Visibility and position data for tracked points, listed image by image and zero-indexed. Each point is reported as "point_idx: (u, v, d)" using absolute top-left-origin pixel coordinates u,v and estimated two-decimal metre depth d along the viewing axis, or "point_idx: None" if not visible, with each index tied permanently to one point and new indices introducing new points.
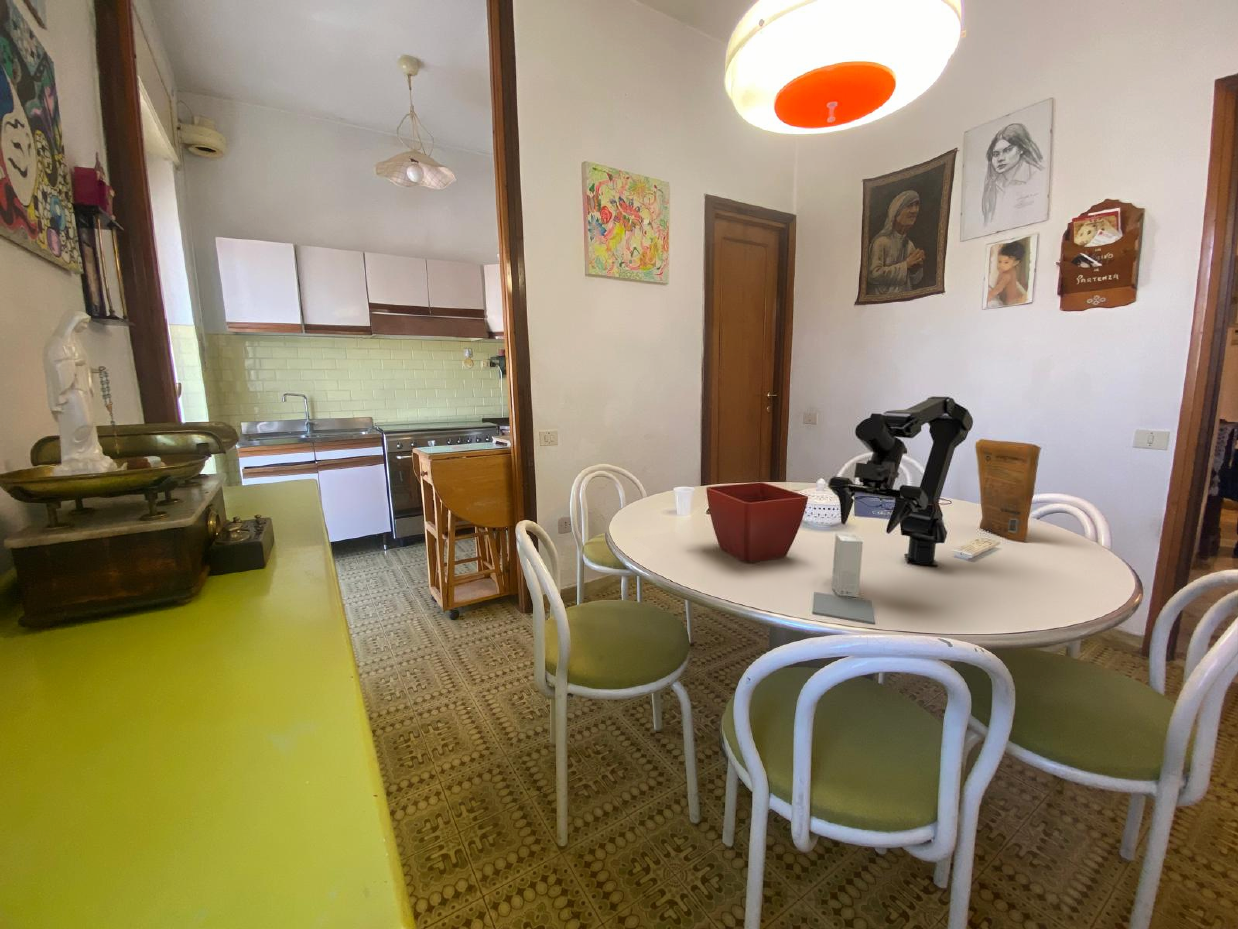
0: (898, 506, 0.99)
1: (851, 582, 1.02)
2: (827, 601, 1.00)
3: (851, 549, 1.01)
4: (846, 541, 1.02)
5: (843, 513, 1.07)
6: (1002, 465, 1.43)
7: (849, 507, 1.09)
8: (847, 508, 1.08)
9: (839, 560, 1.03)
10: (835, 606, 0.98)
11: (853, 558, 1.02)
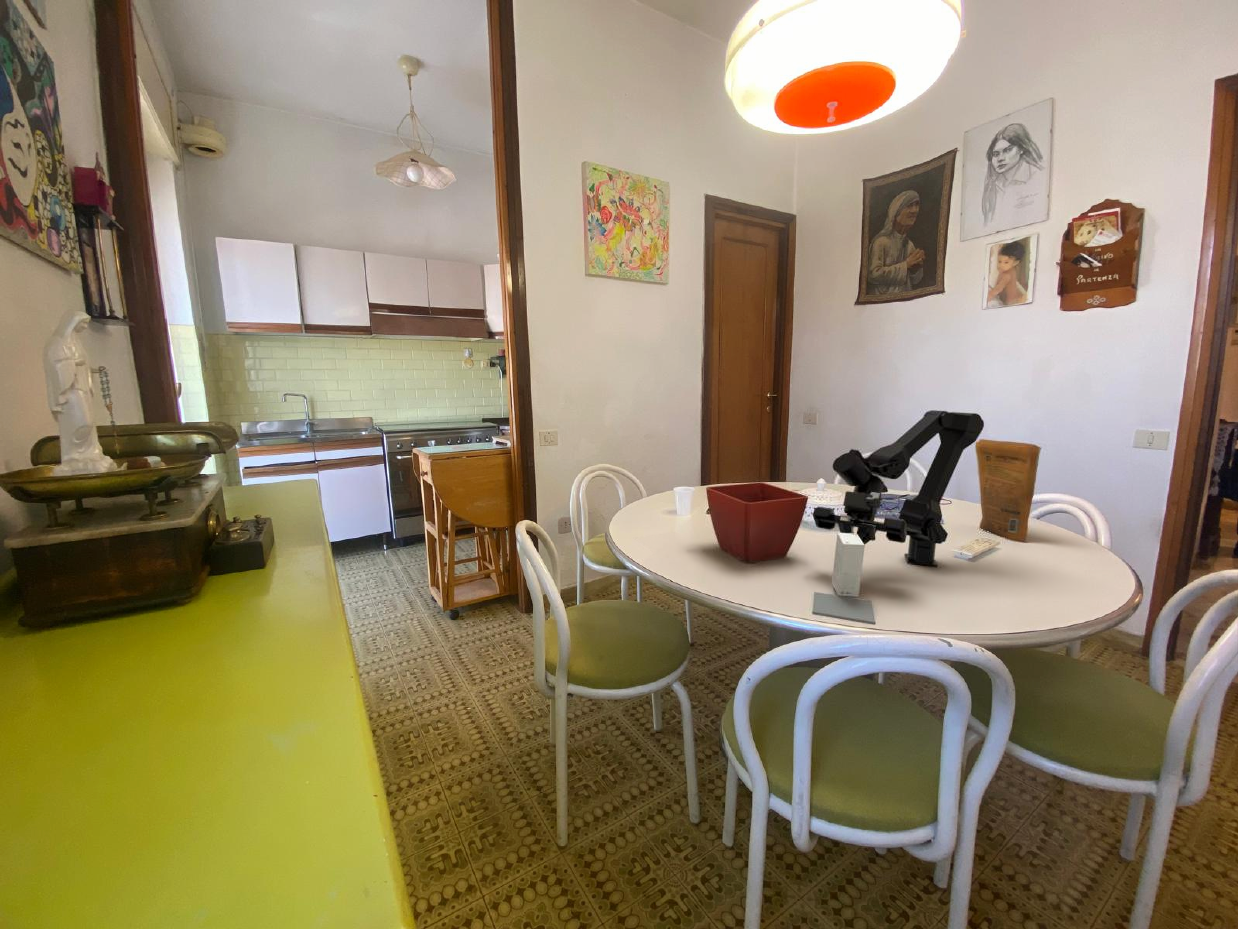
0: (860, 532, 1.07)
1: (851, 583, 1.01)
2: (827, 601, 1.00)
3: (853, 552, 1.00)
4: (848, 545, 0.99)
5: None
6: (1002, 465, 1.43)
7: None
8: None
9: (840, 562, 1.01)
10: (835, 606, 0.98)
11: (854, 561, 1.00)
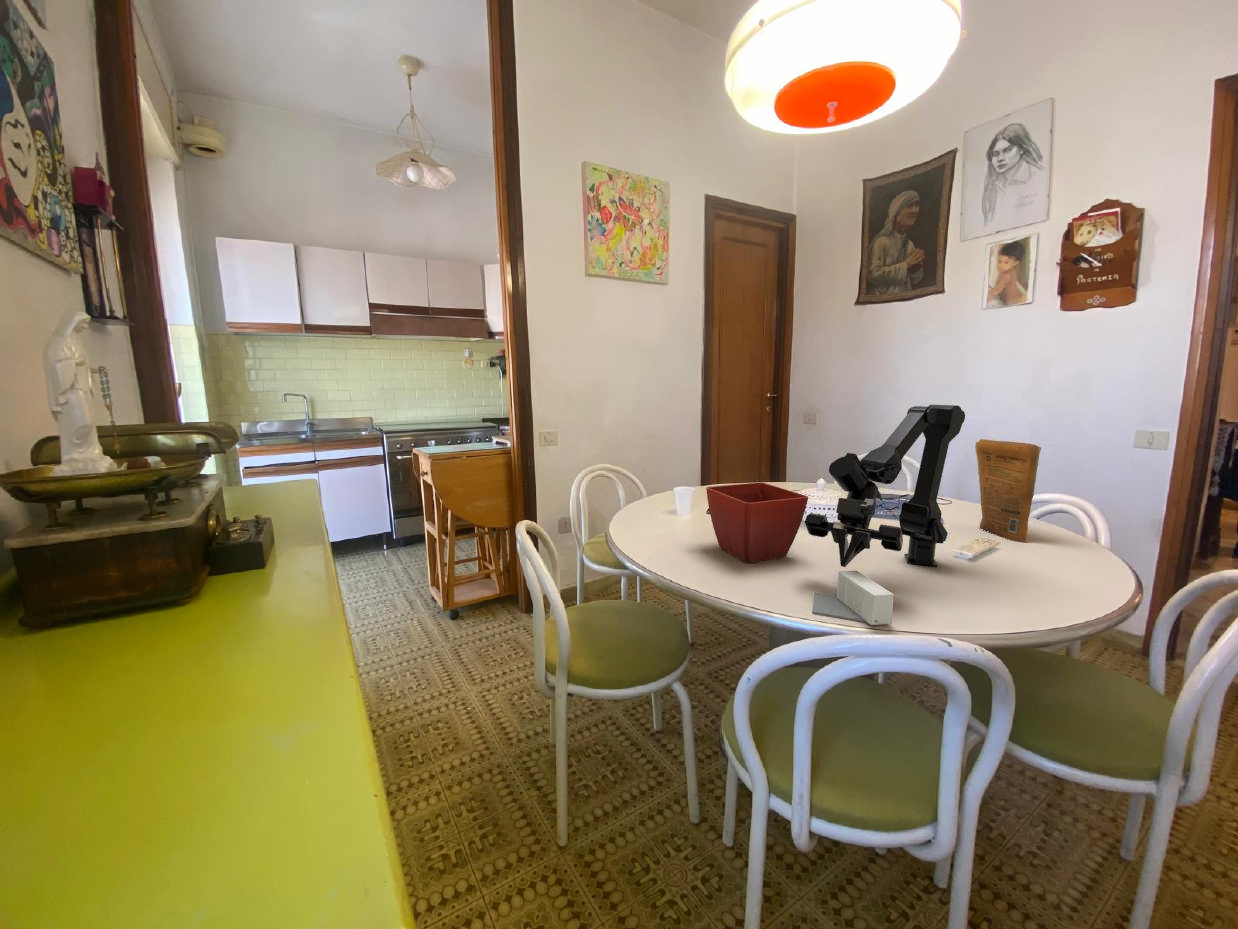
0: (854, 540, 1.02)
1: None
2: (827, 601, 1.00)
3: None
4: (875, 624, 0.91)
5: (842, 554, 1.02)
6: (1002, 465, 1.43)
7: (846, 549, 1.05)
8: (845, 550, 1.04)
9: (857, 611, 0.95)
10: (835, 606, 0.98)
11: None
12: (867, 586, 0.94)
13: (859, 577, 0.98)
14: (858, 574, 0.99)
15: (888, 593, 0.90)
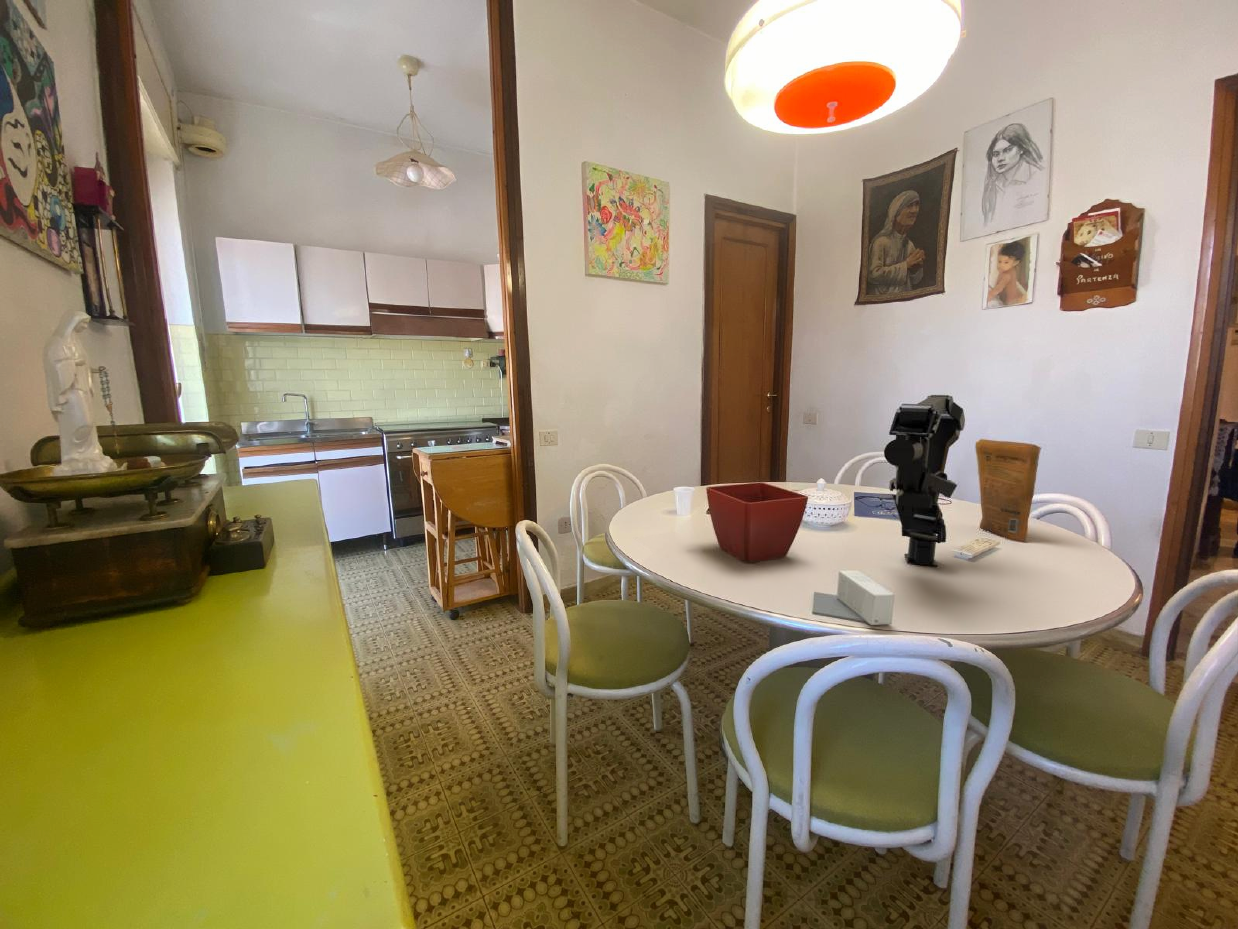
0: None
1: None
2: (827, 601, 1.00)
3: None
4: (875, 624, 0.91)
5: None
6: (1002, 465, 1.43)
7: None
8: None
9: (857, 610, 0.95)
10: (835, 606, 0.98)
11: None
12: (867, 586, 0.94)
13: (859, 577, 0.98)
14: (859, 574, 0.99)
15: (889, 593, 0.90)
